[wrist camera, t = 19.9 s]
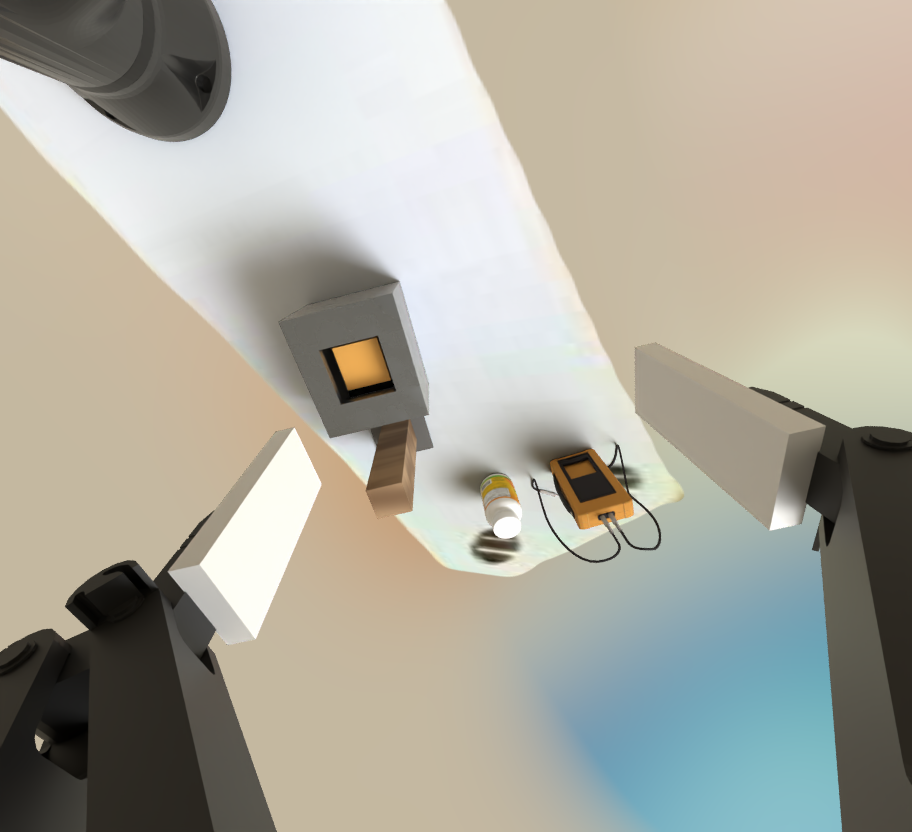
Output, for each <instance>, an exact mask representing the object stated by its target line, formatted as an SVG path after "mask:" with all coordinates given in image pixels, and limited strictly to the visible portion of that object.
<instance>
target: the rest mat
mask: <svg viewBox="0 0 912 832" xmlns="http://www.w3.org/2000/svg"><path fill="white" fill-rule="evenodd" d="M410 420H411V424H412V427H413V430H414V433H415V436H416V439H417V444H416V452H417V451H421V450H426V449H430V448H433V444H432V441H431V438H430V435H429V431H428V428H427V425H426V421H425V418H424V416H421V417H417V418H413V419H410ZM381 427H382V426H379V427H375V428H371V432H372V434H373V437H374V440H375V442H376V445H377V443H378V439H379V435H380V431H381Z"/></svg>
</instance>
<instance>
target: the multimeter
mask: <svg viewBox="0 0 912 832" xmlns="http://www.w3.org/2000/svg"><path fill="white" fill-rule="evenodd" d="M618 449H619V453H620V458H621V463H622V468H623V473H624V479H625V484H626V489H627V492H626V490H625V489H624V488H623V487H622V485H621V484H620V483H619V481H618V480H617V479H616V477H615V476H614V475H613V473H612V472H611V471H610V469H609V468H610V467H611V466H612V465H613V464H614V462H615V459H616V456H617V450H618ZM550 467H551V471H552V475H553V479H554V484H555V488H556V491H557V493H558V495H556V493H551V492H548V491H544V490H539V489H538V486H537V483H536V480H535V479H533V480H532V487H533V489H535V490H536V491H538V495H539V499H540V502H541V506H542V509H543V512H544V515H545V518H546V520H547V523H548V525H549V527H550V528H551V530H552V532H553V533H554V535H555V536H556V537H557V539H558V540H559V541H560V542H561V544H562V545H563V546H564V547H565V548H566V549H567V550H568V551H570V552H571V553H572V554H573V555H575V556H576V557H578V558H580V559H582V560H585V561H588V562H593V563H599V562H605V561H608V560H611V559H613V558H615V557H616V556H617V555H618V554H619V552H620V550H621V546H620V543H619V542H618V541H617V539H616V537H615V535H614V533H613V531H612V529H611V527H610V526H609V525H610V524H609V522H613V524H614V525H615V526H616V527H617V529H618V530H619V532H620V533H621V534H622V536H623V537H624V539H625V540H626V542H627V543H628V544H629V545H630V546H631V547H633V548H635V549H639V550H656V549H657V548H658V547H659V545H660V543H661V532H660V528H659V525H658V523H657V521H656V519H655V518H654V516H653V515H652V514H651V513H650V512H649V511H648V509H647V508H645V507H644V506H643V505H642V504H641V503H640V502H639V501H637V500H636V499H635V498H634V497H633V496H631V494H630V493H629V490H628V485H627V480H626V475H625V470H624V465H623V460H622V455H621V451H620V447H619V445H616V452H615V457H614V460H613V462H612V464H611V465H610V466H609V467H607V466H606V464H605V463H604V462H603V461H602V459H601V458H600V457H599V456H598V454H597V453H596V452H595V450H593V449H589V450H585V451H583V452H580V453H577V454H573V455H570V456H566V457H563V458H559V459H554V460H552V461H551V462H550ZM534 482H535V485H536V488H537V489H536V488H534V486H533V483H534ZM540 492H541V493H544V494H548V495H551V496H554V497H555V496H558V497H560V499H561V501H562V503H563V505H564V506H565V508H566V509H567V511H568V512H569V513H570V514H571V515H572V516H573V517H574V519H575V521H576V523H577V525H578V527H579V529H588V528H590V527H594V526H598V525H601V524H604V525H605V527H607V528H608V530H609V532H610V533H611V534H612V535H613V537H614V539H615V540H616V542H617V544H618V551H617V553H616V554H615V555H613V556H612V557H610V558H607V559H604V560H599V561H595V560H588V559H585V558H582V557H581V556H579V555H577V554H575V553H574V552H573V551H572V550H570V549H569V548H568V547H567V546H566V545H565V544H564V543H563V542H562V540H561V539H560V538H559V537H558V535H557V534H556V533H555V531H554V530H553V528H552V526H551V524H550V522H549V520H548V518H547V515H546V512H545V509H544V506H543V503H542V499H541V496H540ZM632 499H633V500H634V501H635V502H637V503H638V504H639V505H640V506H641V507H642V508H644V509H645V510H646V511H647V512H648V514H649V515H650V516H651V517H652V518H653V520H654V522H655V523H656V525H657V528H658V532H659V541H658V544H657V545H656V546H655V547H654V548H639V547H635V546H633V545H632V544H631V543H630V542H629V541H628V540H627V538H626V536H625V535H624V533H623V532H622V529H621V528H620V526H619V525H618V521H617V520H620V519H623V518H628V517H631V516H632V515H634V510H633V502H632Z"/></svg>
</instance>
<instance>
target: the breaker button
mask: <svg viewBox="0 0 912 832" xmlns="http://www.w3.org/2000/svg"><path fill="white" fill-rule="evenodd" d="M332 350H333V353H334V355H335V358H336V361H337V363H338V366H339V368H340V371H341V373H342V376H343V378H344V381H345V383H346V386H347V388H348V391H349V390H353V389H357V388H361V387H365V386H369V385H373V384H377V383H382V382H386V381H390V380H391V378H392V377H391V374H390V371H389V368H388V365H387V362H386V359H385V356H384V353H383V349H382V346H381V343H380V340H379V337H378V336H374V337H370V338H366V339H362V340H358V341H354V342H350V343H346V344H342V345H338V346H334V347H333V348H332Z"/></svg>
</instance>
